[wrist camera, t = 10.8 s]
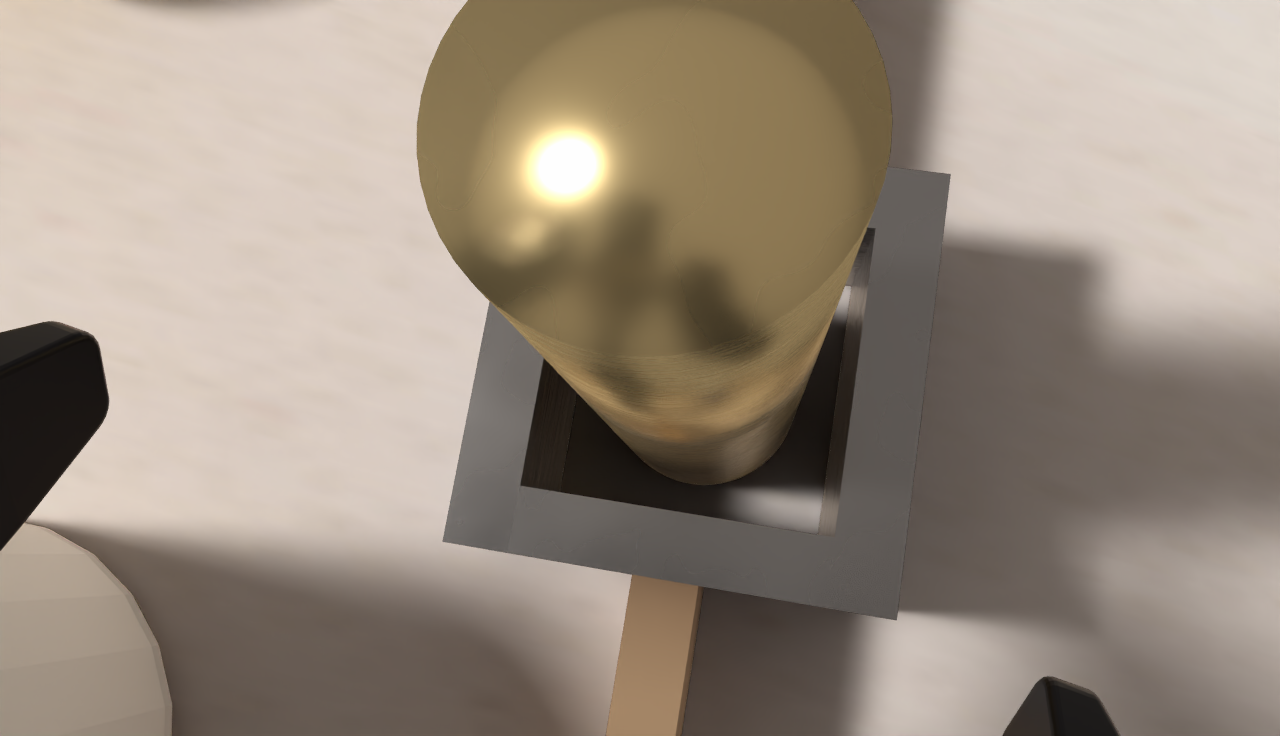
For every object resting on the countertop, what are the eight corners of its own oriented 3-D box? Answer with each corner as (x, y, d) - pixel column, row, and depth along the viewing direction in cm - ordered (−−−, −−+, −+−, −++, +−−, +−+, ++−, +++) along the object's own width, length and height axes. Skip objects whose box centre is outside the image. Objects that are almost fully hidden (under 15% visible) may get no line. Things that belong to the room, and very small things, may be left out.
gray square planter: (867, 608, 21) (896, 620, 17) (495, 544, 22) (442, 541, 18) (913, 241, 22) (950, 174, 18) (560, 195, 23) (524, 123, 19)
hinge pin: (807, 474, 22) (926, 325, 8) (622, 494, 22) (430, 382, 8) (784, 294, 22) (856, -124, 9) (605, 315, 23) (404, -56, 9)
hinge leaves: (617, 1152, 20) (591, 1277, 16) (557, 1137, 20) (519, 1259, 16) (825, -210, 25) (839, -334, 21) (775, -214, 25) (781, -338, 21)
